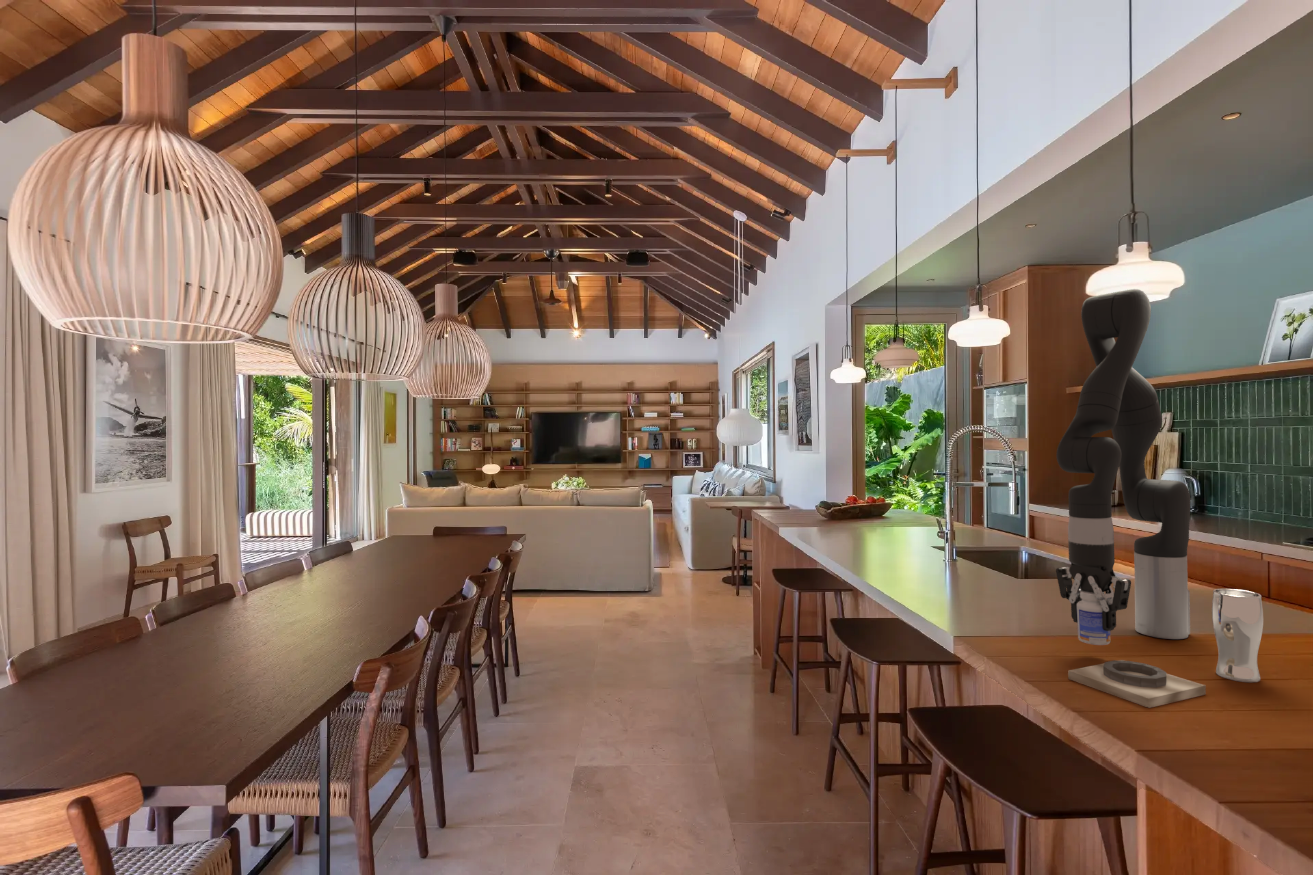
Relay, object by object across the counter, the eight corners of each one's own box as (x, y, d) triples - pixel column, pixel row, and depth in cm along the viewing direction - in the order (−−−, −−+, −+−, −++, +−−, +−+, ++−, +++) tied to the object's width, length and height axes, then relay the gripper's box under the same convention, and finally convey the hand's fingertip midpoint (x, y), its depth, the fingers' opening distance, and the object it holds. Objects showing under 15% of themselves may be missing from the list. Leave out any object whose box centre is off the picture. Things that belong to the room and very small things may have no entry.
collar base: (1122, 667, 127) (1122, 651, 127) (1205, 694, 114) (1205, 676, 114) (1068, 678, 122) (1068, 662, 122) (1149, 707, 109) (1148, 689, 109)
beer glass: (1252, 671, 124) (1251, 589, 124) (1272, 685, 117) (1271, 598, 117) (1205, 668, 126) (1204, 587, 126) (1223, 681, 119) (1222, 595, 119)
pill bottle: (1115, 646, 129) (1114, 595, 129) (1084, 645, 130) (1083, 595, 130) (1103, 637, 135) (1101, 588, 135) (1073, 636, 136) (1071, 588, 136)
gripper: (1141, 543, 127) (1144, 633, 127) (1070, 532, 140) (1072, 614, 141) (1113, 547, 124) (1116, 639, 125) (1043, 536, 138) (1046, 619, 138)
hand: (1093, 625), depth 133 cm, fingers closed on pill bottle, 5 cm apart
